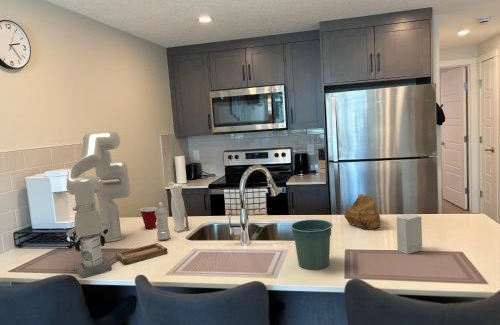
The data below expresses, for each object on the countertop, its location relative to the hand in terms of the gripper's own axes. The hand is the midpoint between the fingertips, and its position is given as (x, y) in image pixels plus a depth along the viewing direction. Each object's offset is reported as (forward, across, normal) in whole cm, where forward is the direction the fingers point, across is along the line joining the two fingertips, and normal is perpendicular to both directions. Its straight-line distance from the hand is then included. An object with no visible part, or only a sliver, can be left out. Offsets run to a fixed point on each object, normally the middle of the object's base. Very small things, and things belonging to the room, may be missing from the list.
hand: (90, 248), depth 161 cm
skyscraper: (+9, +54, +30) cm, 63 cm away
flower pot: (+11, +69, -61) cm, 93 cm away
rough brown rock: (+10, +126, -40) cm, 132 cm away
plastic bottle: (+10, +40, +20) cm, 46 cm away
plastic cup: (+9, +44, +49) cm, 66 cm away
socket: (+10, 0, +1) cm, 10 cm away
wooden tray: (+10, +22, +3) cm, 24 cm away
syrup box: (+10, 0, 0) cm, 10 cm away
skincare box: (+11, +107, -79) cm, 134 cm away
